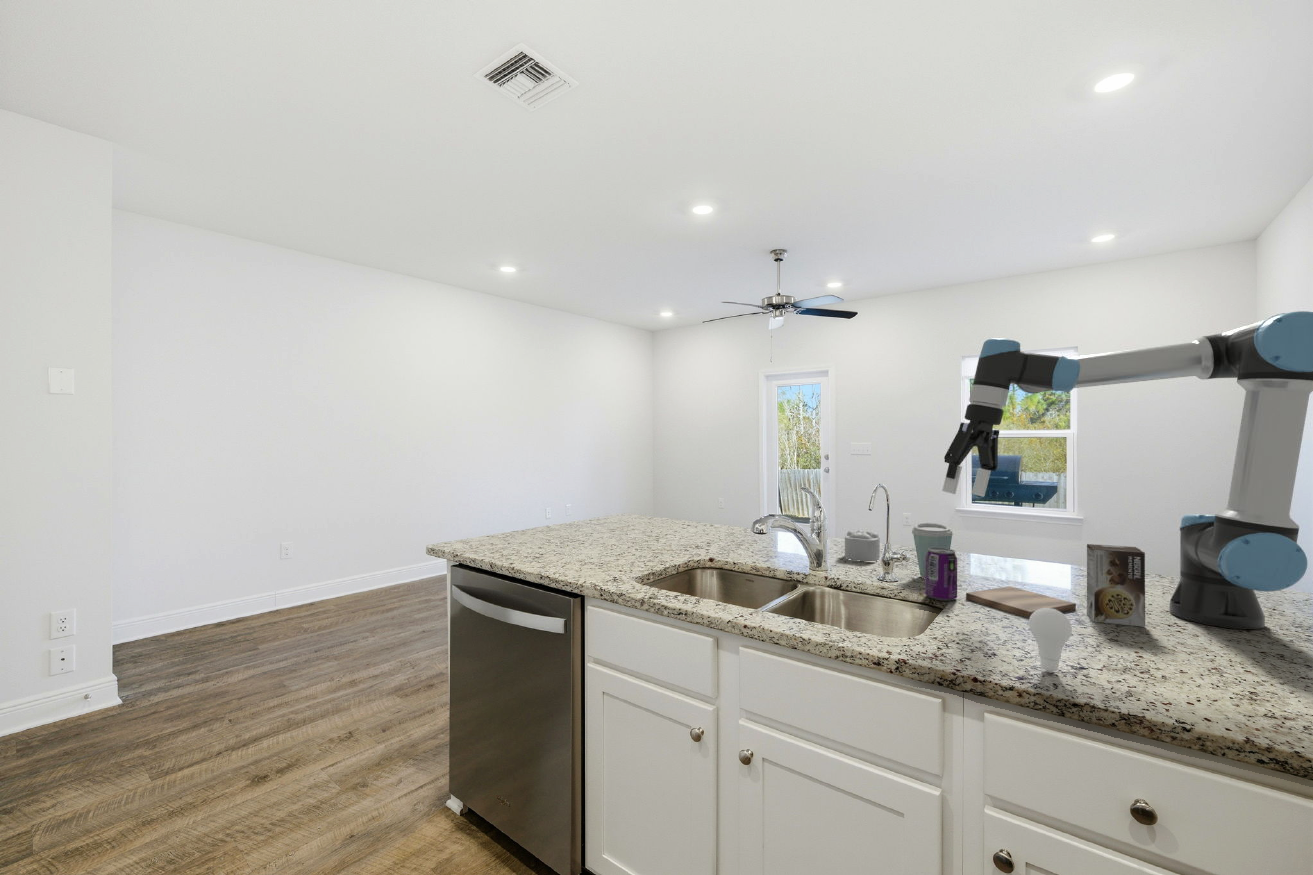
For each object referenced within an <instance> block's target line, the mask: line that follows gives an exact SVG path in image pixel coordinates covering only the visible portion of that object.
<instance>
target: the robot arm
mask: <svg viewBox="0 0 1313 875" xmlns="http://www.w3.org/2000/svg"><path fill="white" fill-rule="evenodd" d="M1186 377H1187V378H1188V377H1196V378H1198V379H1199V380H1203V381H1204V380H1212V379H1236V378H1237V379H1236V383H1237V385H1239V386H1240V387H1241V388H1243V390H1244V391H1245V394H1244V395H1245V396H1244V401H1243V407H1242V414H1241V418H1240V426H1239V433H1238V438H1237V445H1236V450H1235V457H1234V463H1233V470H1232V475H1231V480H1230V481H1231V482H1230V487H1229V493H1228V501H1227V506H1226V507H1225V508H1223V509H1222V510H1220V511H1218V512H1216V513H1215V514H1185V515H1184V516H1182V518H1181V521H1180V526H1179V532H1180V535H1179V536H1180V537H1179V538H1180V550H1179V551H1180V555H1179V556H1180V558H1179V563H1180V564H1179V568H1180V569H1179V570H1180V572H1179V575H1180V576H1179V577H1180V578H1179V581H1178V583H1177V585H1176V588H1174V589H1175V590H1174V591H1173V594H1172V596H1171V598H1170V600H1169V609H1168V610H1169V613H1171V614H1172V615H1174V616H1177V617H1178V618H1181V619H1183V620H1187V621H1191V622H1195V623H1198V622H1199V624H1203V625H1207V624H1208V626H1213V627H1218V626H1219V628H1225V629H1227V628H1228V629H1233V628H1234V629H1235V630H1246V629H1255V630H1261V629H1260V628H1262V629H1264V628H1265V627H1266V616H1265V614H1264V611H1263V608H1262V607H1261V604H1260V602H1259V600H1258V597H1257V594H1256V592H1265V593H1266V592H1267V593H1268V592H1277V591H1278V592H1279V591H1281V590H1285V589H1287V588H1289V587H1292V586H1294V585H1295V584H1297V583H1298V582H1300V581H1301V579H1303V578H1304V576H1305V575H1306V573H1307V569H1308V558H1307V556H1306V553H1305V551H1304V549H1302V547H1301V546H1300V545H1299V544H1298V537H1299V532H1300V531H1299V530H1300V525H1298V523H1296V522H1295V521H1294V520H1293V519H1292V518H1291V516H1290V512H1291V507H1292V501H1293V500H1292V499H1293V495H1294V488H1295V484H1296V483H1295V482H1296V476H1297V471H1298V466H1299V465H1298V464H1299V459H1300V453H1301V447H1302V441H1303V437H1304V429H1305V424H1306V418H1307V413H1308V406H1309V401H1310V400H1309V399H1310V394H1312V393H1313V311H1307V310H1306V311H1305V310H1303V311H1300V310H1297V311H1292V312H1291V311H1290V312H1286V313H1285V312H1284V313H1280V314H1279V313H1278V314H1275V315H1272V316H1270V317H1268V318H1266V319H1263V320H1260V321H1256V322H1253V323H1249V324H1246V325H1243V326H1241V327H1238V328H1235V329H1234V328H1233V329H1231V330H1228V331H1224V332H1220V333H1215V334H1211V335H1203V336H1198V337H1196V338H1195V339H1194V340H1193V341H1192V342H1191V341H1190V342H1183V343H1177V344H1168V345H1160V346H1153V347H1152V346H1150V347H1144V348H1135V349H1127V350H1120V351H1110V352H1104V353H1096V354H1088V355H1080V356H1079V355H1078V356H1071V357H1066V356H1063V355H1062V356H1060V355H1059V356H1058V355H1051V354H1050V355H1049V354H1041V353H1033V352H1026V351H1023V350H1021V343H1020V342H1019V341H1017V340H1012V339H1008V338H998V337H997V338H994V337H993V338H989V339H986V340H985V341H984V342H983V344H982V347H981V351H980V354H979V357H978V360H977V365H976V370H975V373H974V377H973V383H972V387H971V389H970V391H969V394H970V395H969V399H968V401H969V402H970V403H969V404H967V406H966V410H965V413H964V419H965V420H967V421H969V422H965V421H964V422H963V421H961V422H960V424H959V428H958V431H957V433H956V434H955V436H954V437H953V440H952V442H951V443H950V446H949V447H948V449H947V451H946V453H945V455H944V463H947V464H948V466H947V470H946V474H945V478H944V481H943V482H944V483H943V487H942V489H941V490H942V492H944V493H949V494H952V495H956V492H957V488H958V485H959V481H960V478H961V477H960V476H961V472H962V469H963V466H961V464H962V462H964V461H965V459H966V457H967V456H968V455H969V453H970V452H971V451H972V449H973V448H974V447H977V451H978V452H977V453H978V458H979V463H980V464H979V465H980V467H978V468H977V472H976V474H975V479H974V482H973V487H972V491H971V495H975V496H979V497H982V498H984V497H985V495H986V492H987V489H988V484H989V480H990V476H991V471H992V472H997V469H998V465H999V464H998V462H999V460H998V459H999V457H998V456H999V454H998V453H999V436H1000V430H999V429H996V428H994V426H1000V425H1001V423H1002V420H1003V415H1004V412H1005V411H1004V410H1003V409H1002V408H1005V407H1006V405H1007V400H1008V396H1009V392H1010V389H1011V384H1012V385H1016V387H1017V388H1018V389H1019V390H1020V391H1022V392H1024V393H1027V394H1031V395H1032V394H1039V393H1042V392H1052V391H1054V392H1064V393H1068V392H1071V391H1072V390H1073V389H1080V388H1088V387H1089V388H1090V387H1097V386H1099V387H1100V386H1109V385H1110V386H1111V385H1119V384H1128V383H1137V382H1139V383H1140V382H1149V381H1158V380H1166V379H1175V378H1176V379H1177V378H1186ZM1255 591H1256V592H1255Z"/></svg>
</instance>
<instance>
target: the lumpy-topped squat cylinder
mask: <svg viewBox="0 0 1313 875" xmlns="http://www.w3.org/2000/svg"><path fill="white" fill-rule="evenodd" d="M880 543H881V538H880V535H879V534H878V533H877V532H872V531H871V530H867V531H866V532H864V530H862V529H859V530H857V531H856V532H854V531H853V530H848V531H847V533H846V535H845V536H844V559H845V558H847V559H851V560H860V561H877V560H880V559H879V558H880V555H881V551H880V549H881V546H880V545H881V544H880ZM877 562H878V561H877Z"/></svg>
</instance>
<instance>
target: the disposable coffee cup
mask: <svg viewBox="0 0 1313 875" xmlns="http://www.w3.org/2000/svg"><path fill="white" fill-rule="evenodd" d="M911 534H913V540H914V548H915V553H916V558H917V563H918V569H919V574H920V577H923V578H925V576H926V554H927V553H928V548H946V549H951V545H952V538H953V536H954V534H953V530H952V529H951V527H950V526H948V525H946V524H942V523H936V522H919V523H916V524H914V525H913V528H912V530H911ZM923 578H922V579H923Z"/></svg>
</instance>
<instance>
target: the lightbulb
mask: <svg viewBox="0 0 1313 875" xmlns="http://www.w3.org/2000/svg"><path fill="white" fill-rule="evenodd" d="M1028 619H1029V620H1028V627H1029V631H1030V633H1031V635H1032V636H1033V638H1034V640H1035V642H1036V644H1037V649H1038V655H1039V657H1040V658H1039V662H1040V667H1041V668H1042V669H1043V670H1045V672H1046V673H1050V674H1052V673H1054V672H1057V671H1058V670H1059V666H1060V665H1059V664H1060V659H1061V657H1062V652H1063V648H1064V646H1065V645H1066V643H1067V642H1068V641H1069V639H1070V638H1071V635H1072V633H1073V632H1072V631H1073V629H1072V624H1071V622H1070V620H1069V618H1068V617H1067V616H1066V615H1065V613H1064V612H1062V613H1061V612H1060V611H1058V610H1055V609H1052V608H1041V609H1038V610H1036V611H1035V612H1033V613H1032V615H1031V616H1030V618H1028Z"/></svg>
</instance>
